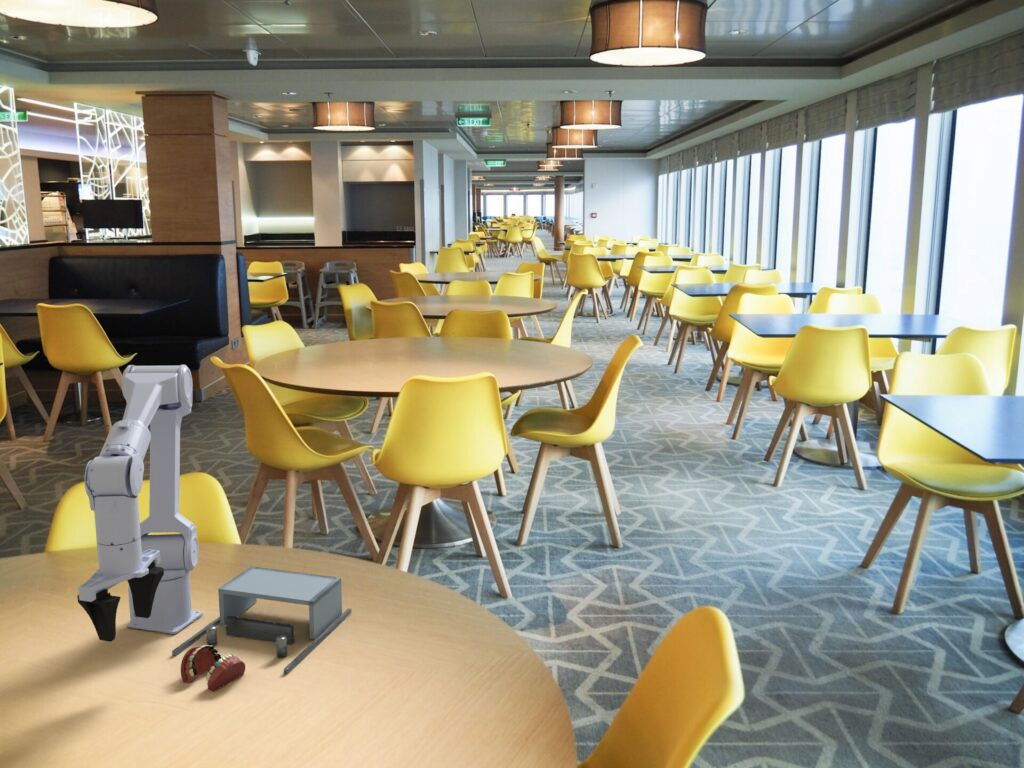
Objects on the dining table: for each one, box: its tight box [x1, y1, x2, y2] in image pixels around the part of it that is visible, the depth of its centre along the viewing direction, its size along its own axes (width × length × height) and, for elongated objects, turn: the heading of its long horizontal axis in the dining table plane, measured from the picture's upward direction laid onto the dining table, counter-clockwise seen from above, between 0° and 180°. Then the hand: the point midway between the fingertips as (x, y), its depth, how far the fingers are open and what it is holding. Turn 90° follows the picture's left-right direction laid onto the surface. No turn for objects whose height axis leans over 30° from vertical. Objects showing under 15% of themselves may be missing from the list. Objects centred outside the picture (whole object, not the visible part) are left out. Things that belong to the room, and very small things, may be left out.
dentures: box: [180, 644, 246, 693], centre depth 130 cm, size 6×5×9 cm
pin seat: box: [171, 607, 352, 675], centre depth 145 cm, size 20×22×3 cm
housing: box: [218, 566, 343, 640], centre depth 149 cm, size 18×10×7 cm, turn 75°
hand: (125, 627), depth 126 cm, fingers open, 7 cm apart
